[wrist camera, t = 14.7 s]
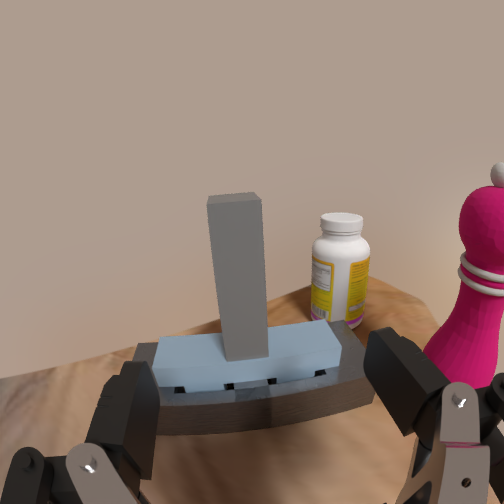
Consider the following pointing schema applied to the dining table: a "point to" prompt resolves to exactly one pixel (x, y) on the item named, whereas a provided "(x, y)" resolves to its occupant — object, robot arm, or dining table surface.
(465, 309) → the pepper mill
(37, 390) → the dining table surface
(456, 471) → the robot arm
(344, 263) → the supplement bottle
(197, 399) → the dark grey rectangular block
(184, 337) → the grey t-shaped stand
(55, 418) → the dining table surface
